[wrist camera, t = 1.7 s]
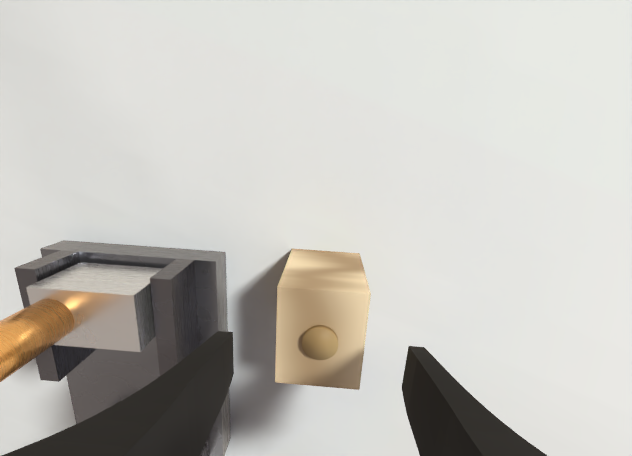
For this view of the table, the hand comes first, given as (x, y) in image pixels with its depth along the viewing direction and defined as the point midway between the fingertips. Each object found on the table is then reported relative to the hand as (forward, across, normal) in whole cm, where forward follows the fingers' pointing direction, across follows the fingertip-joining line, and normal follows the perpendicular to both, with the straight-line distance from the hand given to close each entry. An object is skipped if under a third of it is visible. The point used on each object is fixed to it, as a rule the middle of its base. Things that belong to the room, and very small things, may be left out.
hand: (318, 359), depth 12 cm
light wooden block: (+6, 0, 0) cm, 6 cm away
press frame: (+6, +11, +5) cm, 14 cm away
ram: (+4, +11, 0) cm, 12 cm away
